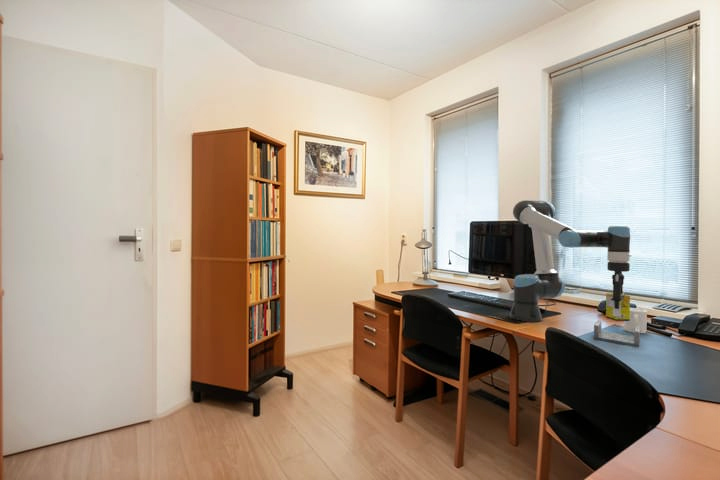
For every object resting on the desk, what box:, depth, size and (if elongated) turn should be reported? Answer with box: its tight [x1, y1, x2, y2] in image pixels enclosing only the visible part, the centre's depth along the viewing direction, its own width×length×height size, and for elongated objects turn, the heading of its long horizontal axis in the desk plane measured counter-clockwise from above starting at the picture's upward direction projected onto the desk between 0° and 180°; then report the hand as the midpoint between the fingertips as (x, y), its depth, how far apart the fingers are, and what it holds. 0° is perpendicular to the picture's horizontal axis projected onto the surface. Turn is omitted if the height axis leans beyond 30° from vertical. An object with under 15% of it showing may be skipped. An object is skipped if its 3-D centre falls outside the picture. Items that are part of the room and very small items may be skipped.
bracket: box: [593, 319, 641, 348], centre depth 144 cm, size 15×12×6 cm
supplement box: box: [605, 292, 631, 322], centre depth 143 cm, size 6×6×11 cm
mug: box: [623, 307, 648, 334], centre depth 154 cm, size 12×8×10 cm
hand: (617, 314), depth 143 cm, fingers closed on supplement box, 8 cm apart
